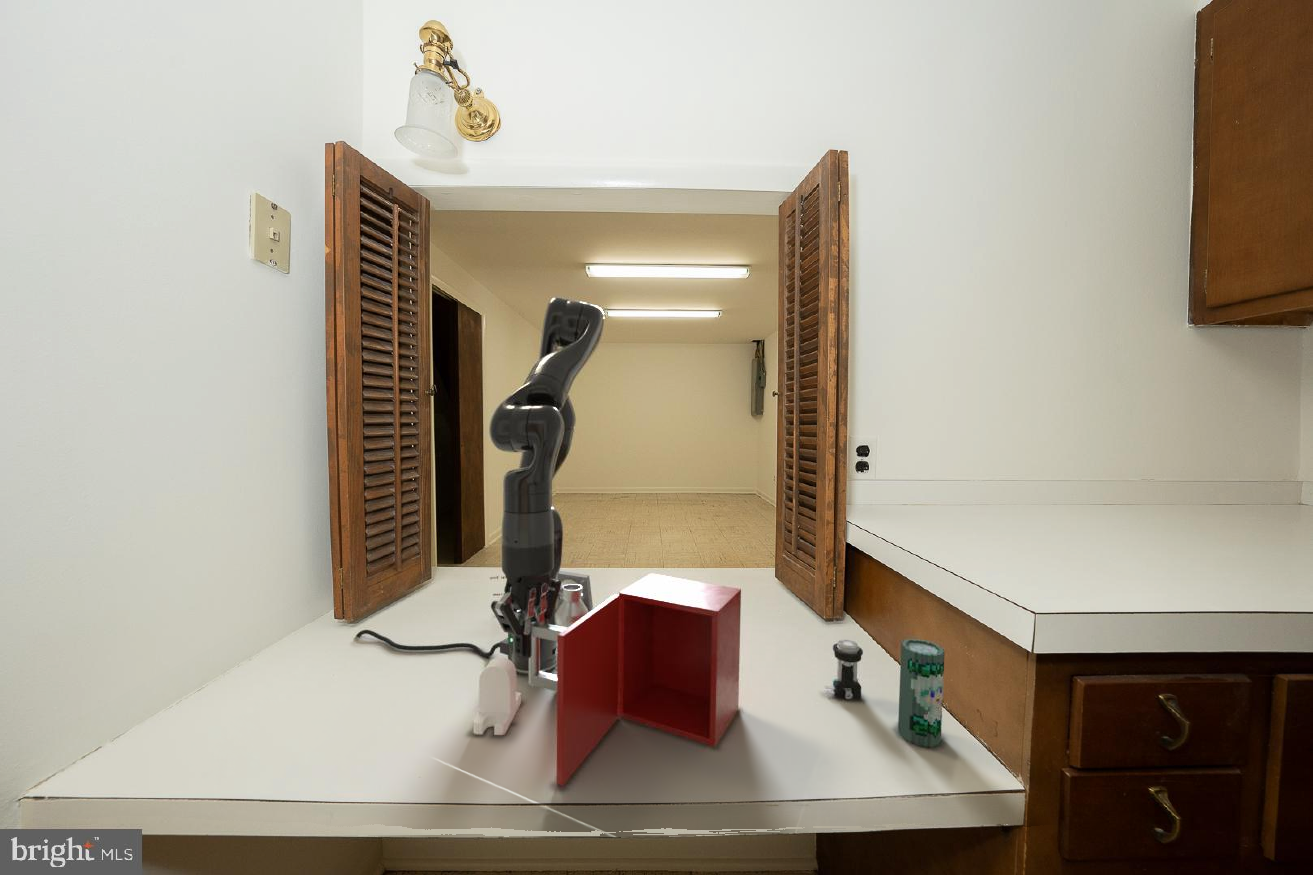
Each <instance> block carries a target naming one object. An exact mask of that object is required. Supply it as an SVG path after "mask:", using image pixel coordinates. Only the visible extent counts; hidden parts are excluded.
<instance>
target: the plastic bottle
mask: <svg viewBox="0 0 1313 875" xmlns="http://www.w3.org/2000/svg"><path fill="white" fill-rule="evenodd" d="M562 598H563V600H562V602H561V603H560V604H559V606H558V607H557V609H556V611H555V614H554V620H555V625H556V626H561V627H566V628H568V627H569V626H571V625H572V624H573V623H575V622H576V621H578V620H579V619H580V618H582V617H583V616H585V615H586V614H587V613H589V611H588V609H587V608H586V606H585V604H584V603H583V602H582V600H581V598H582V586H580V585H577V584H569V585H565V586H563V588H562ZM554 674H555V675H557V663H556V666H555V667H554Z"/></svg>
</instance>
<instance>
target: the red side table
mask: <svg viewBox="0 0 1313 875" xmlns="http://www.w3.org/2000/svg"><path fill="white" fill-rule="evenodd" d="M530 634H531V657H530V658H529V675H528V685H529V686H531V687H536V688H541V689H545V690H549V691H553V692H556V785H557V786H560V787H564V785H565V784H566V782H568V781H569V779H570V778H571V777H572V776H573V774H574V773H575V772H576V770H578V768H580V765H581V764H582V763H583V762H584V761H585V759H586V758H587V757H588V756H589V755H590V754H591V752H592V751H593V750H594V749H595V747H596V746H597V745H598V744H599V742H600V741H601V740H602V739H603V738H604V736H605V735H606V734H607V732H609V730H610V729H611V728H612V726H614V724H615V723H616V722H617V720H618V719H619V716H618V673H619V594H613V595H611V596H610V597H608V598H607V599H605V600H604V601H603V602H601V603H600V604H598V605H597V606H596V607H595V608H592V609H591V611H588V613H587V614H586V615H585V616H583V617H582V618H580V619H579V620H578V621H576V622H575V623H573V624H572V625H571V626H569V627H568V628H566V627H561V626H556V625H550V624H545V623H540V622H531V628H530ZM540 638H543V639H548V640H553V641H557V675H555V673H551V672H542V671H540Z"/></svg>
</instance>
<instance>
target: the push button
mask: <svg viewBox="0 0 1313 875" xmlns="http://www.w3.org/2000/svg"><path fill="white" fill-rule="evenodd" d="M832 651H833V654H834V657H835V658H836V659H837V660H836V664H837V665H836V676H835V678H833V679H832V685H825V686H824V688H825V689H826V690H824V694H831V695H834V697H835V698H841V699H842V698H843V699H846V700H851V699H856V700H861V699H862V685H861V684H860V682H859V678H858V662H861V661H862V655H864V650H863V649H862V647H861V646H859V644H858V642H856V641H853V640H850V639H840V640H838V641H837V643H834V644H833V645H832ZM827 689H828V690H827Z"/></svg>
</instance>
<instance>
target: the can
mask: <svg viewBox="0 0 1313 875" xmlns="http://www.w3.org/2000/svg"><path fill="white" fill-rule="evenodd" d="M945 653H946V651H945V649H944V648H943V647H942V646H941V645H939V644H937V643H934V642H932V641H928V640H926V639H918V638H908V639H903V640H902V641H901V644H900V667H899V668H900V670H899V694H898V719H897V731H898V734H900V737H902V738H903V739H904V740H906V741H907V742H909V743H912V744H914V745H915V746H920V747H922V746H923V747H924V748H925V747H930V748H932V747H935V746H939V745H940V742H942V723H943V722H942V721H943V698H944V696H943V695H944V679H945V678H944V677H945V676H944V674H945V656H946V655H945Z"/></svg>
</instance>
